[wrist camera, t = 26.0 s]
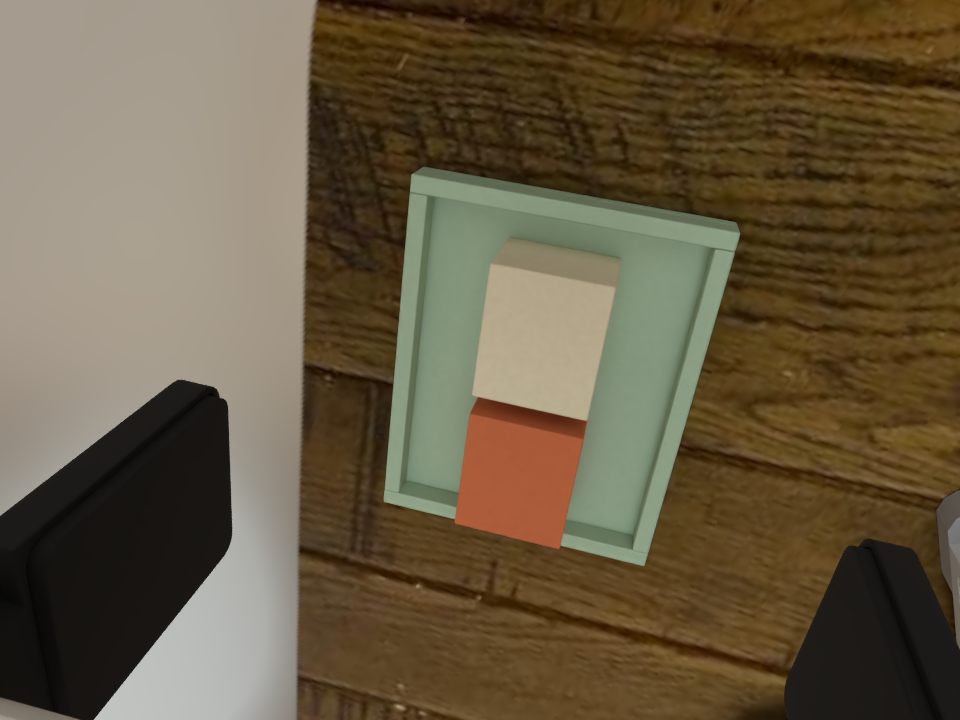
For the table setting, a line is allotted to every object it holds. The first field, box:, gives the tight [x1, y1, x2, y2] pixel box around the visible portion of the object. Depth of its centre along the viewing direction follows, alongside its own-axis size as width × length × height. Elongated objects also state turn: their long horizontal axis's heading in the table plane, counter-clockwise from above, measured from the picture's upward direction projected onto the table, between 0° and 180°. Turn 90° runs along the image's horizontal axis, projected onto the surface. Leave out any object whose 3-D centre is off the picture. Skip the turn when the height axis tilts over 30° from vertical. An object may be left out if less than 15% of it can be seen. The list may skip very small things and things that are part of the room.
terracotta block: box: [455, 397, 587, 549], centre depth 35 cm, size 6×5×4 cm
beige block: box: [472, 237, 622, 421], centre depth 32 cm, size 6×5×4 cm
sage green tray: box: [384, 167, 740, 566], centre depth 35 cm, size 17×14×2 cm
